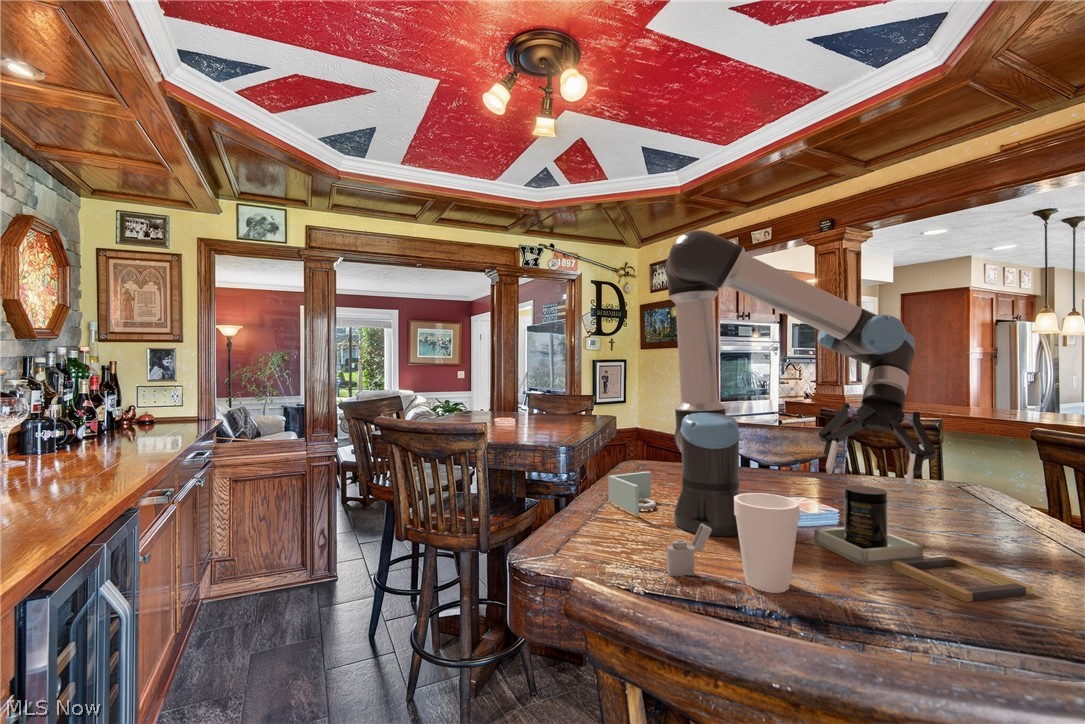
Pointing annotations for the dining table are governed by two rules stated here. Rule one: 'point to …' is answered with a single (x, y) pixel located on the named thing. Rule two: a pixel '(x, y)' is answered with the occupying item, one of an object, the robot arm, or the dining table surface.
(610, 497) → the l-shaped corner panel
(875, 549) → the shallow grey-green tray
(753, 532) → the foam cup
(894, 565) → the frame
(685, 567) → the lighter
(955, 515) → the dining table surface
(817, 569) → the dining table surface
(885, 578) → the dining table surface
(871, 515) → the supplement container
